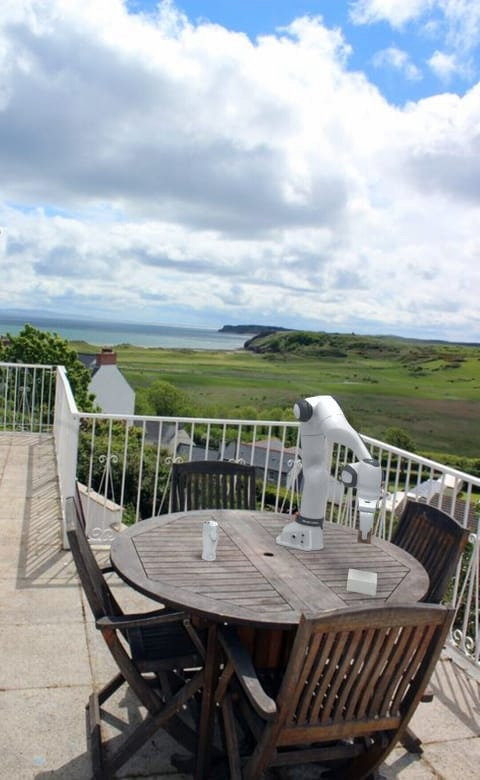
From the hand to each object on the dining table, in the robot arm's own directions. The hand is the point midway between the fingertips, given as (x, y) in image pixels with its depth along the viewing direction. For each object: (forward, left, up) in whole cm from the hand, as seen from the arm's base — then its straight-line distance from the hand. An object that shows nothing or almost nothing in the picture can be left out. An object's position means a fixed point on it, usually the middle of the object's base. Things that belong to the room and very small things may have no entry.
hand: (364, 536), depth 220 cm
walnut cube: (0, 0, -2) cm, 2 cm away
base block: (+1, 0, -21) cm, 21 cm away
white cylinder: (-62, +2, -21) cm, 65 cm away
